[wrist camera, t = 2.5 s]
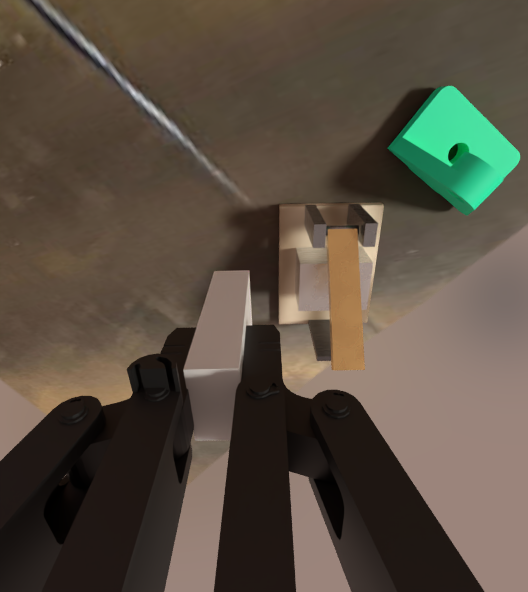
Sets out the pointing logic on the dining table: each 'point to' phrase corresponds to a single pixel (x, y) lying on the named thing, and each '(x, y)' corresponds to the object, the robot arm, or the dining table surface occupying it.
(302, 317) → the board
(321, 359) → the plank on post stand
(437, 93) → the camera mount
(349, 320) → the tan wooden flat bar
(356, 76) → the dining table surface
